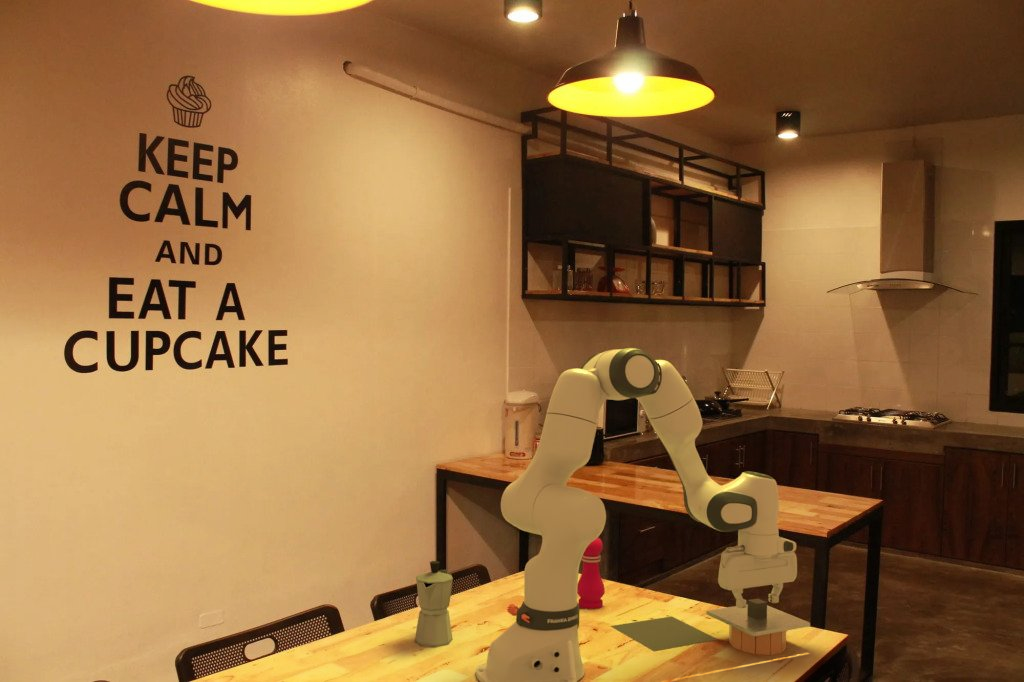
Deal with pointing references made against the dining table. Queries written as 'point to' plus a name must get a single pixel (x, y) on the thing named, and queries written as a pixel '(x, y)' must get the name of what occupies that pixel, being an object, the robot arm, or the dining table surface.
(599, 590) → the pepper mill
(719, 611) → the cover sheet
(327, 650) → the dining table surface
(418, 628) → the coffee maker
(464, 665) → the dining table surface
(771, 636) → the bowl
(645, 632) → the rubber mat
